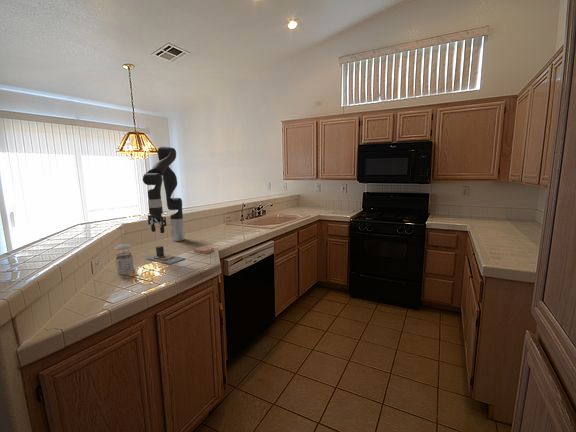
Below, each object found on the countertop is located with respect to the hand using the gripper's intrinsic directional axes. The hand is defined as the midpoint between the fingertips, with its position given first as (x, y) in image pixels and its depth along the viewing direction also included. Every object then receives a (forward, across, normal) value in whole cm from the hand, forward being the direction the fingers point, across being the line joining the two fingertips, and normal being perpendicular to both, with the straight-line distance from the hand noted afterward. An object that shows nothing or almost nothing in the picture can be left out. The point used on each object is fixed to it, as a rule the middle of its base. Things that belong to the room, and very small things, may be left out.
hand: (158, 232), depth 172 cm
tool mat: (+17, -5, 0) cm, 17 cm away
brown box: (+16, -4, 0) cm, 16 cm away
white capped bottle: (+17, -4, +24) cm, 30 cm away
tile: (+16, -9, -23) cm, 29 cm away
